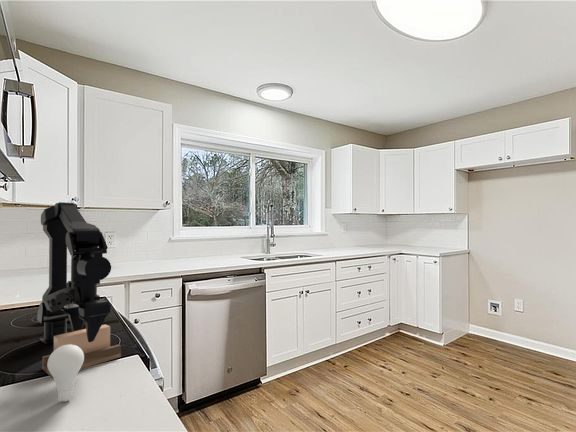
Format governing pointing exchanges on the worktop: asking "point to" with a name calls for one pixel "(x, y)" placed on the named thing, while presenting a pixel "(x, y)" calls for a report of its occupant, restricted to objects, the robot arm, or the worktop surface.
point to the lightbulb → (65, 369)
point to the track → (92, 357)
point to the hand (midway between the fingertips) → (83, 337)
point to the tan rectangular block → (84, 339)
